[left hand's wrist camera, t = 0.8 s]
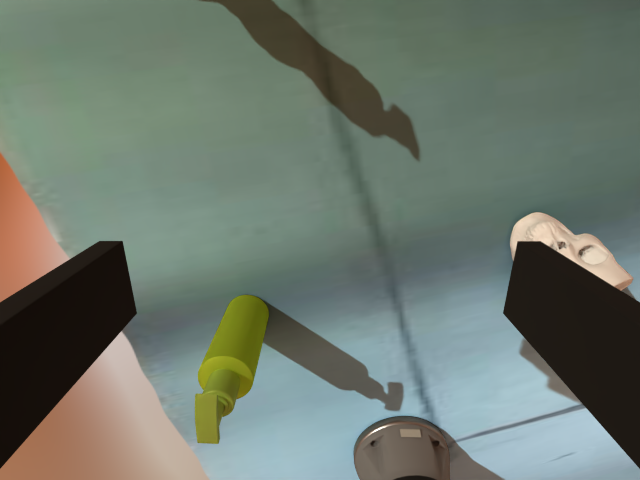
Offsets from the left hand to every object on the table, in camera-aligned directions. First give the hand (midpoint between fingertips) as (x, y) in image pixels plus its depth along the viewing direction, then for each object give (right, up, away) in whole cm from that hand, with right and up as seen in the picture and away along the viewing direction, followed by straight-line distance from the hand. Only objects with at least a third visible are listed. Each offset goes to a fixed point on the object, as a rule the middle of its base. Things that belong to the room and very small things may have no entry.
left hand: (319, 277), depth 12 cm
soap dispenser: (-10, -8, +39) cm, 41 cm away
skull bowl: (+30, -2, +36) cm, 47 cm away
